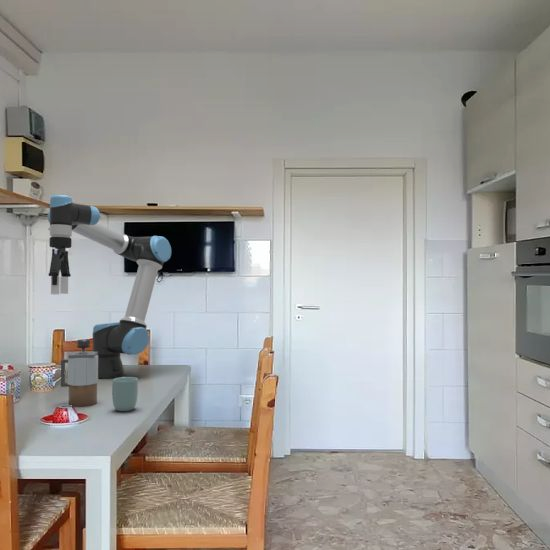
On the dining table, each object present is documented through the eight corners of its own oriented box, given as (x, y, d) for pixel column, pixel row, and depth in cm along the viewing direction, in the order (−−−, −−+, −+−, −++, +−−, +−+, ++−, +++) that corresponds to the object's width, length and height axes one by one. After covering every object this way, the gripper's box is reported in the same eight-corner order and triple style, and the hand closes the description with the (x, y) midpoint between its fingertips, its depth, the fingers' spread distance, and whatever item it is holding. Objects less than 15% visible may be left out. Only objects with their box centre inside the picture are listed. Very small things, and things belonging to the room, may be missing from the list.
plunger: (74, 378, 171) (75, 339, 171) (95, 378, 172) (96, 338, 172) (69, 382, 164) (70, 341, 164) (92, 382, 165) (92, 341, 166)
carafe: (64, 401, 171) (64, 351, 171) (98, 400, 173) (99, 351, 173) (57, 407, 162) (58, 355, 163) (94, 406, 164) (95, 354, 165)
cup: (130, 413, 155) (130, 381, 155) (107, 412, 157) (107, 380, 157) (141, 407, 163) (142, 377, 163) (119, 406, 164) (120, 376, 165)
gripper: (58, 239, 196) (57, 293, 196) (40, 233, 172) (39, 294, 171) (78, 240, 197) (77, 293, 197) (63, 234, 173) (62, 294, 173)
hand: (59, 294), depth 184 cm, fingers open, 13 cm apart
